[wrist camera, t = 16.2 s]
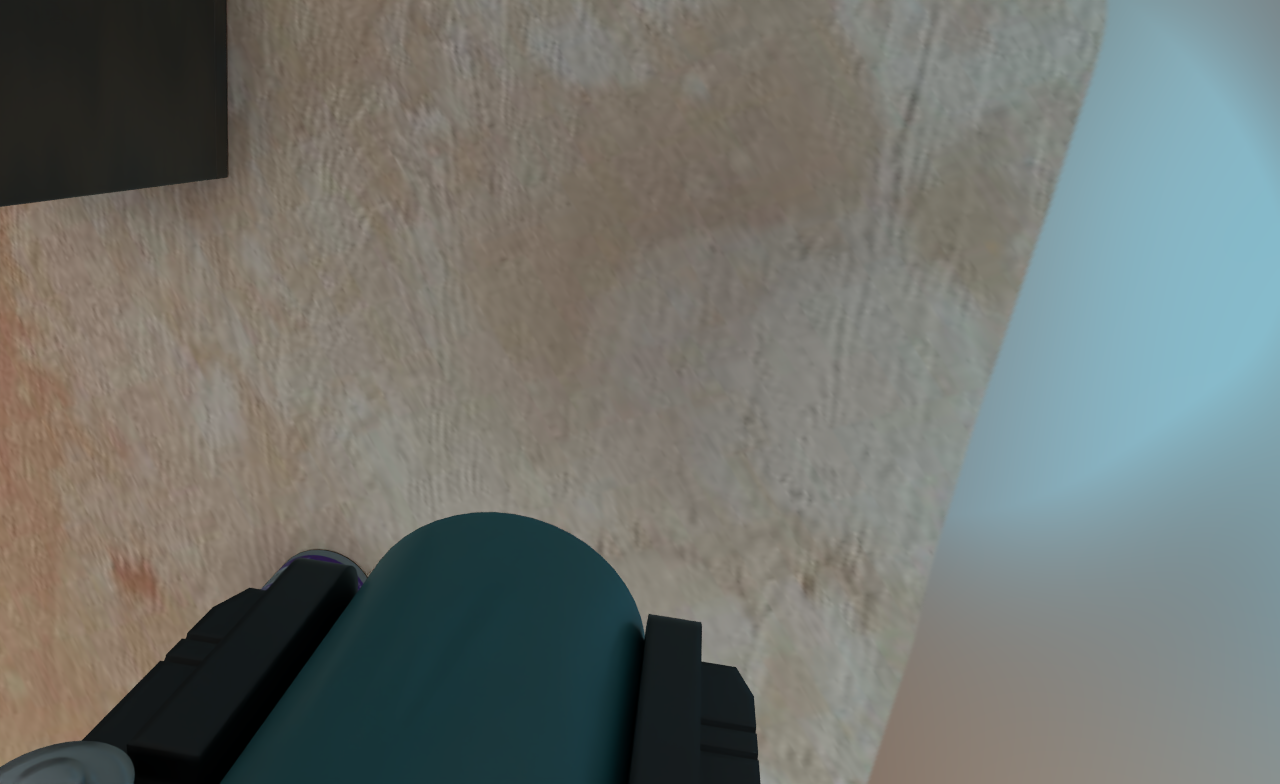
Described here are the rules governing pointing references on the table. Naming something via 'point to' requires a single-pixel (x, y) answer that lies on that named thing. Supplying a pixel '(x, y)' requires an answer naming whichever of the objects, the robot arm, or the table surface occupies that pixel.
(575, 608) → the teal cylinder
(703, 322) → the table surface
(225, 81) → the chest
